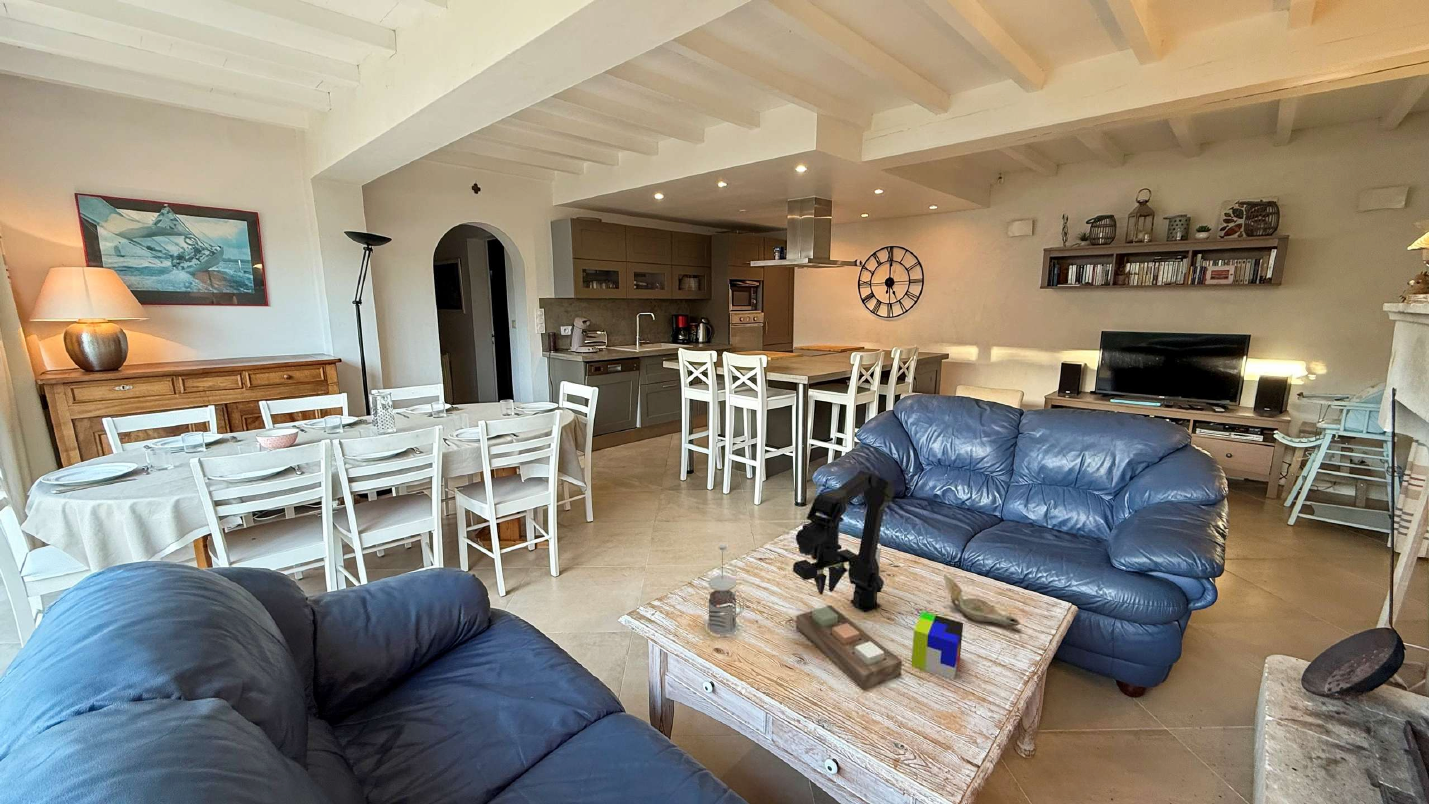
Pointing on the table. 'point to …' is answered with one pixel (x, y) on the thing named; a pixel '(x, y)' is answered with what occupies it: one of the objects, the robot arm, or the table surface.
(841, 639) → the terracotta key
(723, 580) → the french press
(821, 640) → the key console
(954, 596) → the oil lamp
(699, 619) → the table surface
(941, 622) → the puzzle toy
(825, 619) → the pale green square block
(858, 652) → the white square block
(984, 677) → the table surface
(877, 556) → the drinking glass
